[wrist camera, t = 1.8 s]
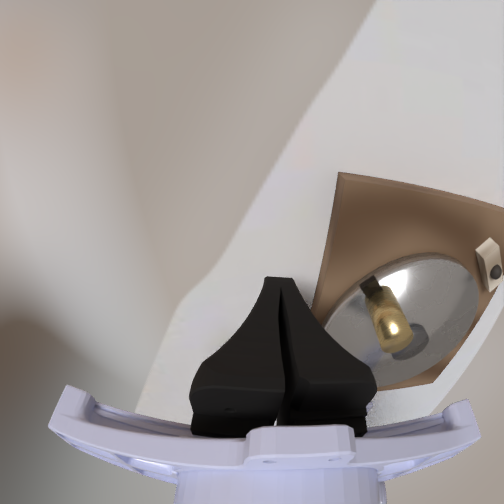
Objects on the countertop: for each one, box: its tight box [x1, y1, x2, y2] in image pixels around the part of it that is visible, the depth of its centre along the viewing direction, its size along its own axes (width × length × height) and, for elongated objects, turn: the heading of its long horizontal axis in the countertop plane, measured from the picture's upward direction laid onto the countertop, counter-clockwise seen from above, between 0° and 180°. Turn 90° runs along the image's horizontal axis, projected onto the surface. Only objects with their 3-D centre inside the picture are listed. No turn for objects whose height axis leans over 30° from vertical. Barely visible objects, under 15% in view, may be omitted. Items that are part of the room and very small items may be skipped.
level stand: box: [311, 172, 504, 391], centre depth 18 cm, size 20×16×3 cm
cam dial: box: [322, 252, 479, 387], centre depth 15 cm, size 14×13×5 cm
